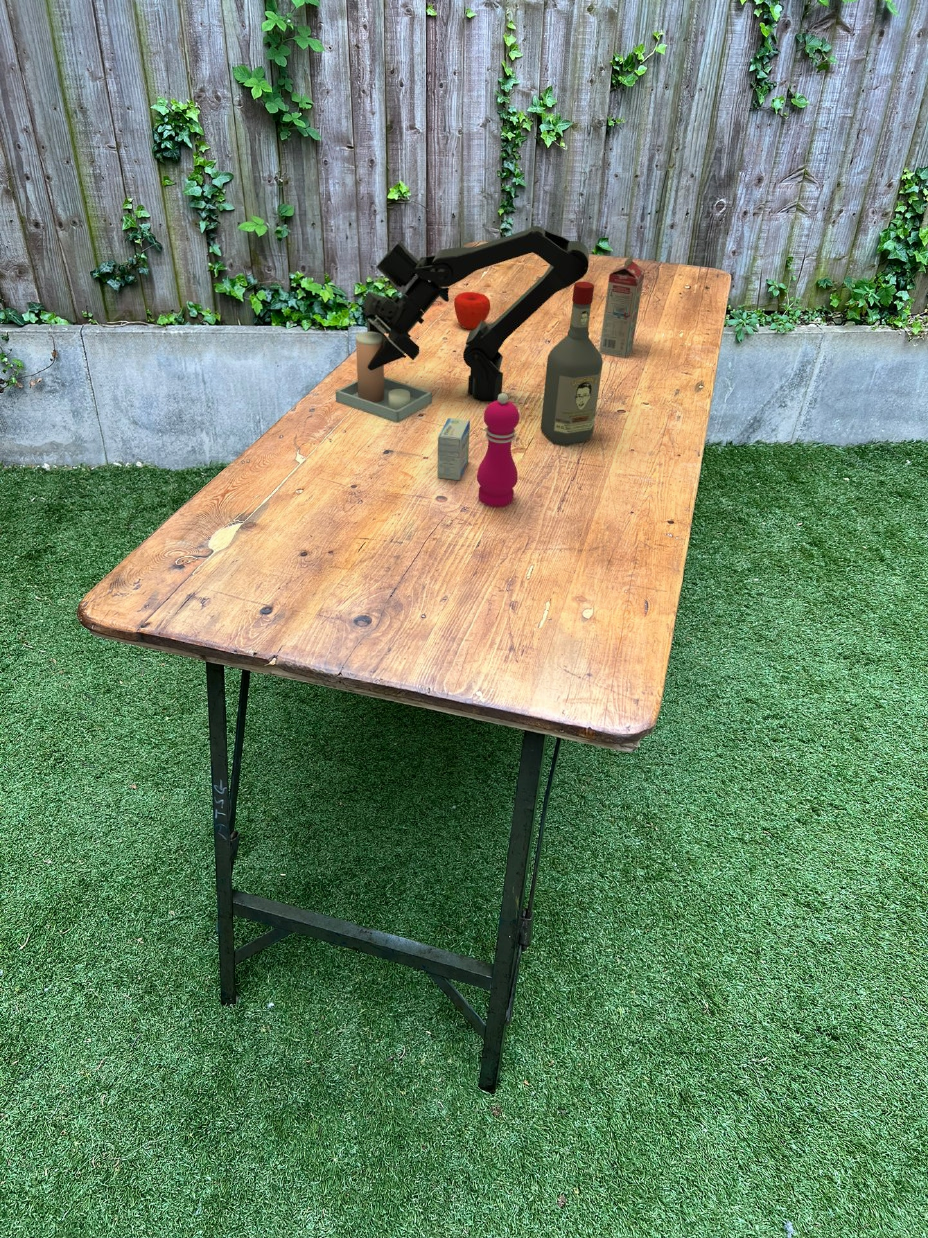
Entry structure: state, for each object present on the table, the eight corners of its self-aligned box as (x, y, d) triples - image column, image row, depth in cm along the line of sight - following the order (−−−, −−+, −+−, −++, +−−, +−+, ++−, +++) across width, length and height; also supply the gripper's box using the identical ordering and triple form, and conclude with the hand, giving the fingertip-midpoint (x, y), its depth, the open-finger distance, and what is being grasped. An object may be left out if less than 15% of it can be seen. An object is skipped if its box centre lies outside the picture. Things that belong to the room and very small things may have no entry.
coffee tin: (390, 397, 194) (389, 337, 185) (370, 405, 190) (368, 343, 182) (372, 389, 196) (370, 329, 188) (352, 396, 193) (349, 336, 185)
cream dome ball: (414, 406, 191) (414, 392, 189) (401, 413, 188) (401, 399, 186) (397, 400, 193) (397, 387, 191) (384, 407, 190) (384, 394, 188)
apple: (495, 325, 232) (497, 294, 227) (476, 335, 226) (478, 303, 221) (465, 317, 235) (466, 286, 231) (446, 327, 229) (447, 295, 225)
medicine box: (460, 481, 168) (462, 438, 163) (436, 478, 169) (437, 435, 164) (468, 461, 175) (470, 419, 169) (445, 458, 175) (447, 416, 170)
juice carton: (598, 353, 220) (611, 258, 207) (606, 343, 225) (619, 251, 211) (625, 358, 218) (640, 263, 205) (632, 348, 223) (647, 255, 210)
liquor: (535, 428, 187) (550, 279, 168) (575, 422, 190) (593, 274, 171) (556, 448, 180) (574, 295, 162) (596, 441, 183) (618, 290, 165)
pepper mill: (473, 488, 167) (479, 384, 154) (513, 488, 167) (521, 384, 155) (477, 509, 161) (483, 402, 149) (518, 508, 162) (527, 402, 149)
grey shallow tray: (431, 405, 193) (431, 392, 191) (397, 426, 185) (397, 412, 183) (371, 386, 200) (371, 372, 198) (336, 404, 192) (335, 391, 190)
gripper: (371, 263, 186) (321, 323, 189) (404, 293, 173) (351, 356, 176) (407, 298, 194) (359, 355, 197) (441, 329, 181) (390, 389, 184)
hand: (363, 363), depth 188 cm, fingers open, 6 cm apart
